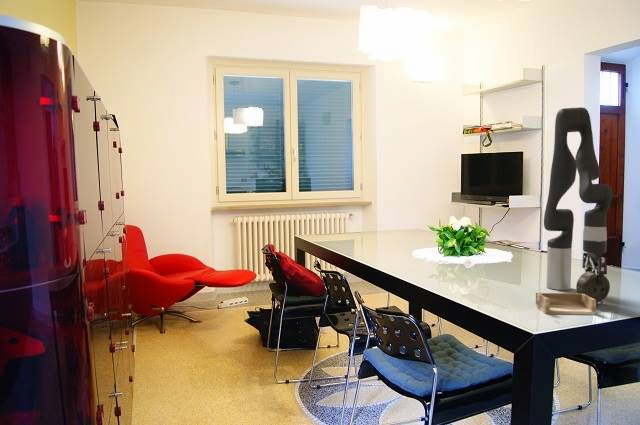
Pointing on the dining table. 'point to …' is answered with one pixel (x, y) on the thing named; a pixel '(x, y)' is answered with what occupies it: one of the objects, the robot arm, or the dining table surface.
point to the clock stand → (565, 303)
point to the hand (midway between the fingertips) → (593, 283)
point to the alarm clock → (593, 286)
